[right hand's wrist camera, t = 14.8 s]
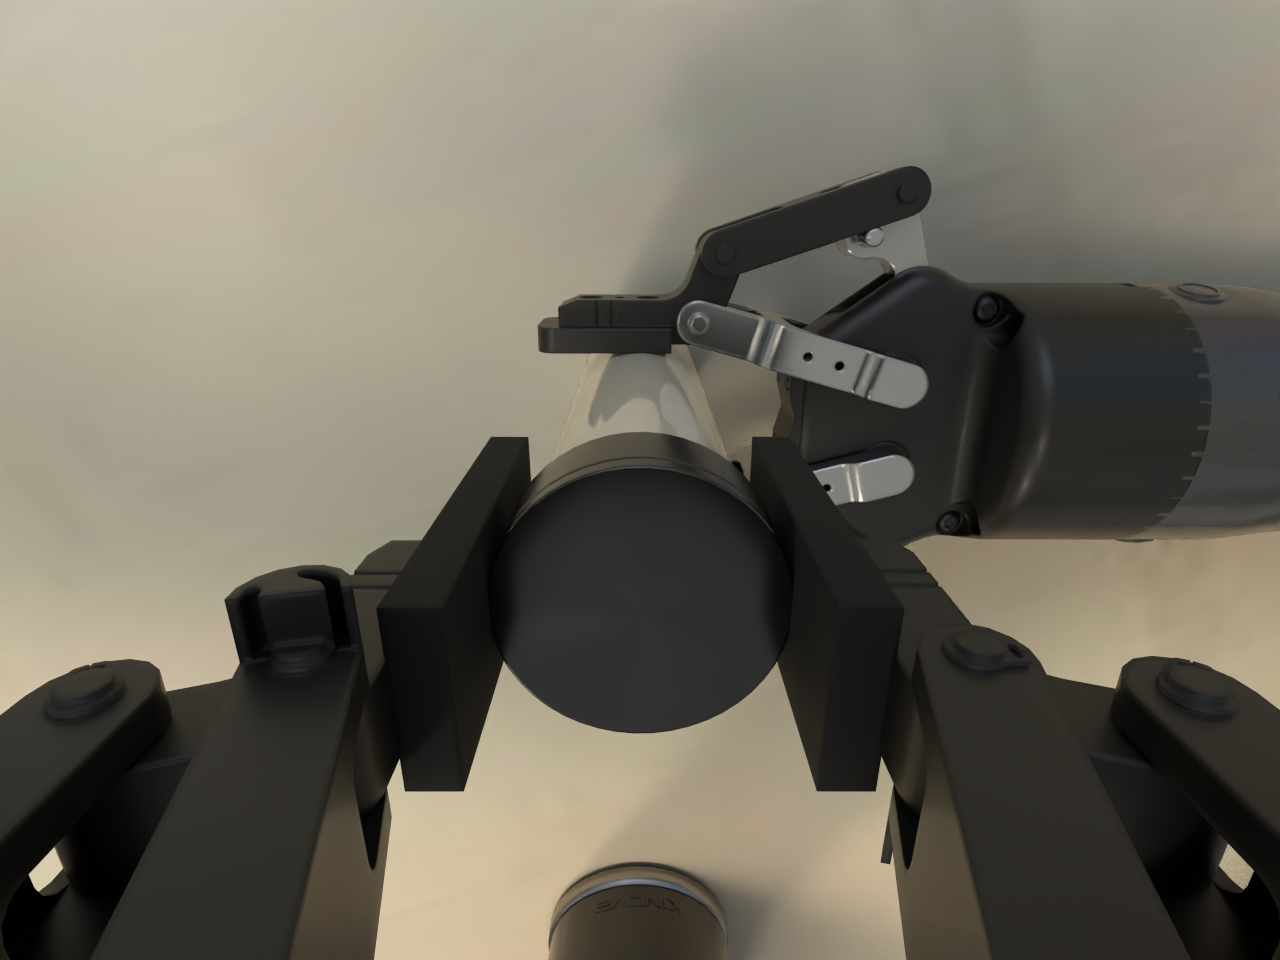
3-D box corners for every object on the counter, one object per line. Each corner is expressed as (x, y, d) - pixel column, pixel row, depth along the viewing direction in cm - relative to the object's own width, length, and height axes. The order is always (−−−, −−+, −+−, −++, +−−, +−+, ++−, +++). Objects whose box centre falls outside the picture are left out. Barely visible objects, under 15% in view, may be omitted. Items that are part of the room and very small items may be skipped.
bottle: (604, 302, 26) (550, 438, 10) (706, 335, 26) (806, 513, 10) (575, 403, 27) (488, 659, 11) (673, 432, 27) (717, 717, 12)
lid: (468, 614, 12) (443, 673, 11) (569, 384, 11) (557, 412, 9) (699, 704, 13) (707, 771, 11) (824, 498, 11) (854, 543, 10)
